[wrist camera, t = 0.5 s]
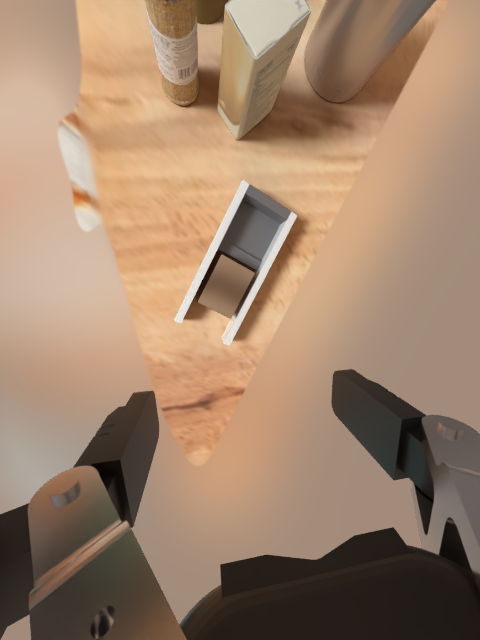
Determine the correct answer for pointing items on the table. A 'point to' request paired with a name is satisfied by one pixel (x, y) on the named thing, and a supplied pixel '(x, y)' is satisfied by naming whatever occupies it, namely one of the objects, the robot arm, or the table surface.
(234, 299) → the walnut block
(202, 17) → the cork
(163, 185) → the table surface
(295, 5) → the skincare box
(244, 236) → the trap channel
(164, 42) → the sprinkles bottle
